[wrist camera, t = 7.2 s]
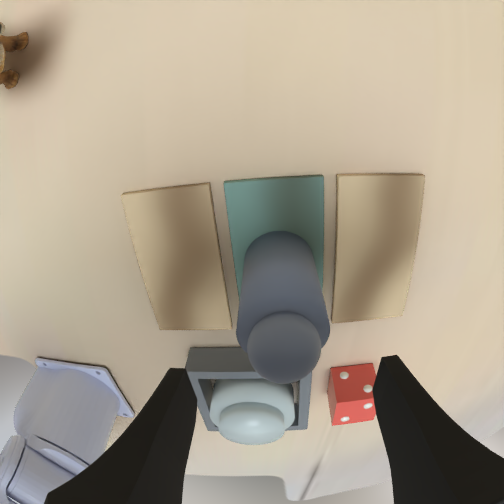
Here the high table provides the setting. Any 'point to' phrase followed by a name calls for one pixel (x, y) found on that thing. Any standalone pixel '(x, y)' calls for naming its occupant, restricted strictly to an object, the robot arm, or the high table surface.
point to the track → (276, 219)
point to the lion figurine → (10, 45)
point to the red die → (351, 394)
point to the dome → (252, 410)
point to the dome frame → (234, 367)
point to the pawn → (281, 308)
